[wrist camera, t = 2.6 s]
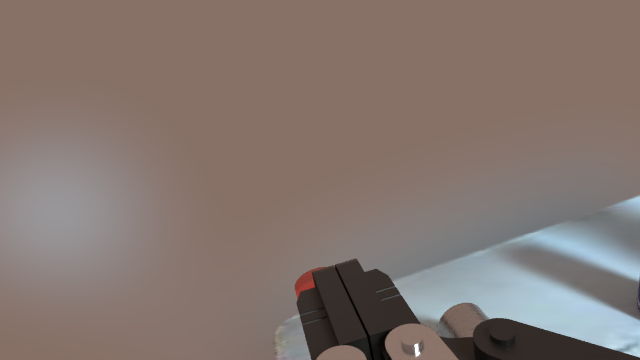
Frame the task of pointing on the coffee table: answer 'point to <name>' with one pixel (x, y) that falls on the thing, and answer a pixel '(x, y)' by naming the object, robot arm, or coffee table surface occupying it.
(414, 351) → the robot arm
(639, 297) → the energy drink
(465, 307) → the valve body
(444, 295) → the coffee table surface
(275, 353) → the coffee table surface
